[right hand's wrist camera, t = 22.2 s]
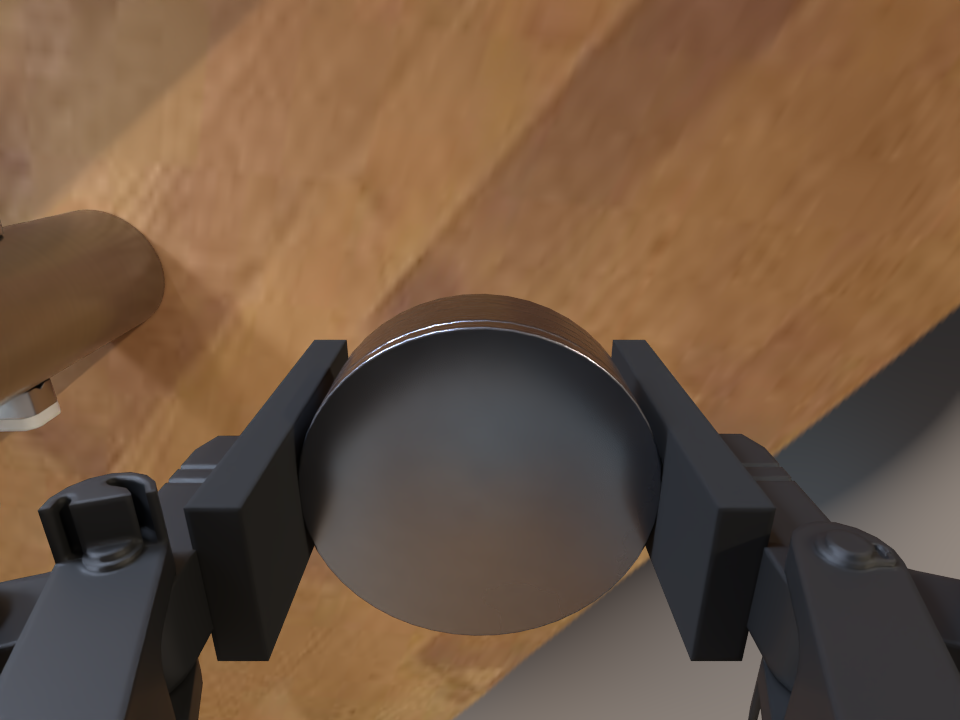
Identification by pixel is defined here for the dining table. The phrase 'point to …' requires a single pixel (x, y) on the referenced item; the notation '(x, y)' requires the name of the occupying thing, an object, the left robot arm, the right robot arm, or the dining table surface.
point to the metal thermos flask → (70, 292)
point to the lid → (479, 468)
